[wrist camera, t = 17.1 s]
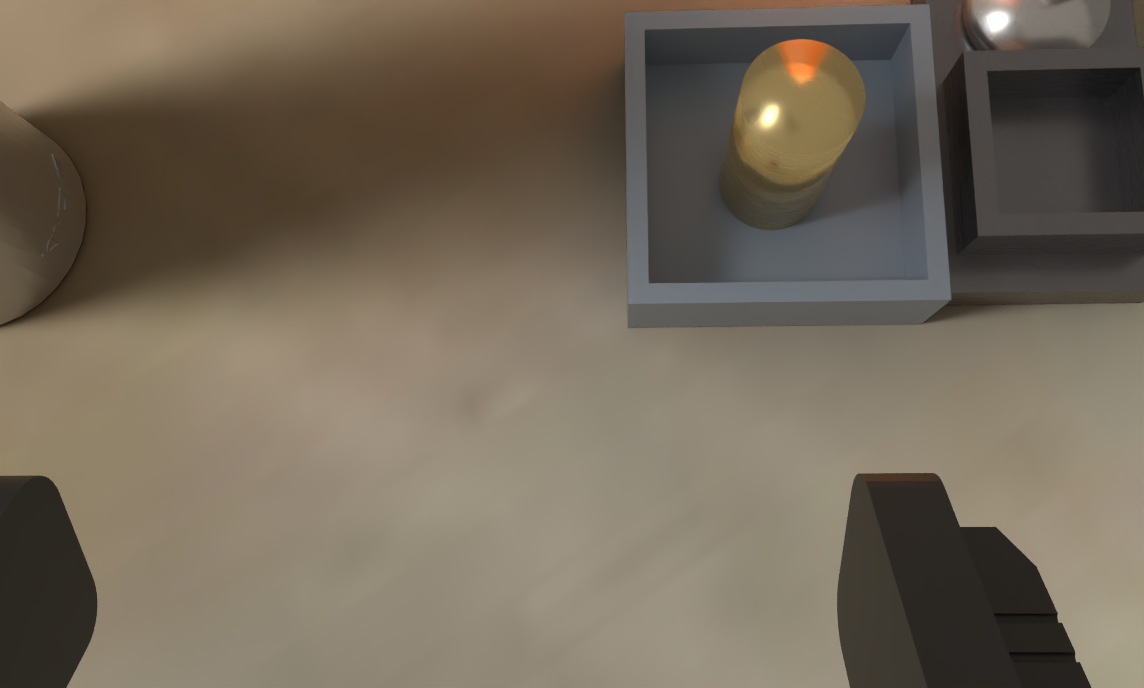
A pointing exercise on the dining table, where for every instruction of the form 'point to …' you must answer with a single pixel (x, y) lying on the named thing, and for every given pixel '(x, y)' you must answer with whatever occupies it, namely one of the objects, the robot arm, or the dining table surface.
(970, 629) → the robot arm
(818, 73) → the cylinder
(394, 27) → the dining table surface
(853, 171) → the tray
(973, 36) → the crank housing
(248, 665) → the dining table surface
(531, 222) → the dining table surface
